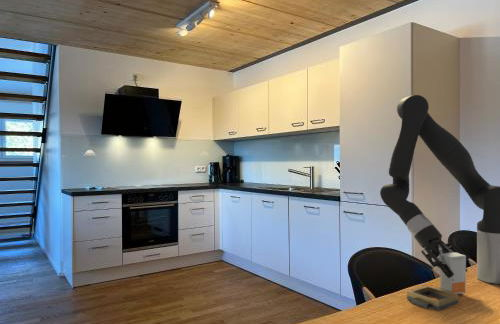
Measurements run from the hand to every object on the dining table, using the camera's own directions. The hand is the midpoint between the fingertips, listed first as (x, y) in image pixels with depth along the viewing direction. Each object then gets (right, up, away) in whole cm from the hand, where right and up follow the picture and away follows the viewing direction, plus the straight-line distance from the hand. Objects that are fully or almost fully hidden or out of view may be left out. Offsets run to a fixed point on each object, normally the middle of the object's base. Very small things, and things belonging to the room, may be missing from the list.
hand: (458, 274), depth 113 cm
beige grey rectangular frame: (-10, -7, -4) cm, 13 cm away
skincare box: (-1, -6, +1) cm, 7 cm away
